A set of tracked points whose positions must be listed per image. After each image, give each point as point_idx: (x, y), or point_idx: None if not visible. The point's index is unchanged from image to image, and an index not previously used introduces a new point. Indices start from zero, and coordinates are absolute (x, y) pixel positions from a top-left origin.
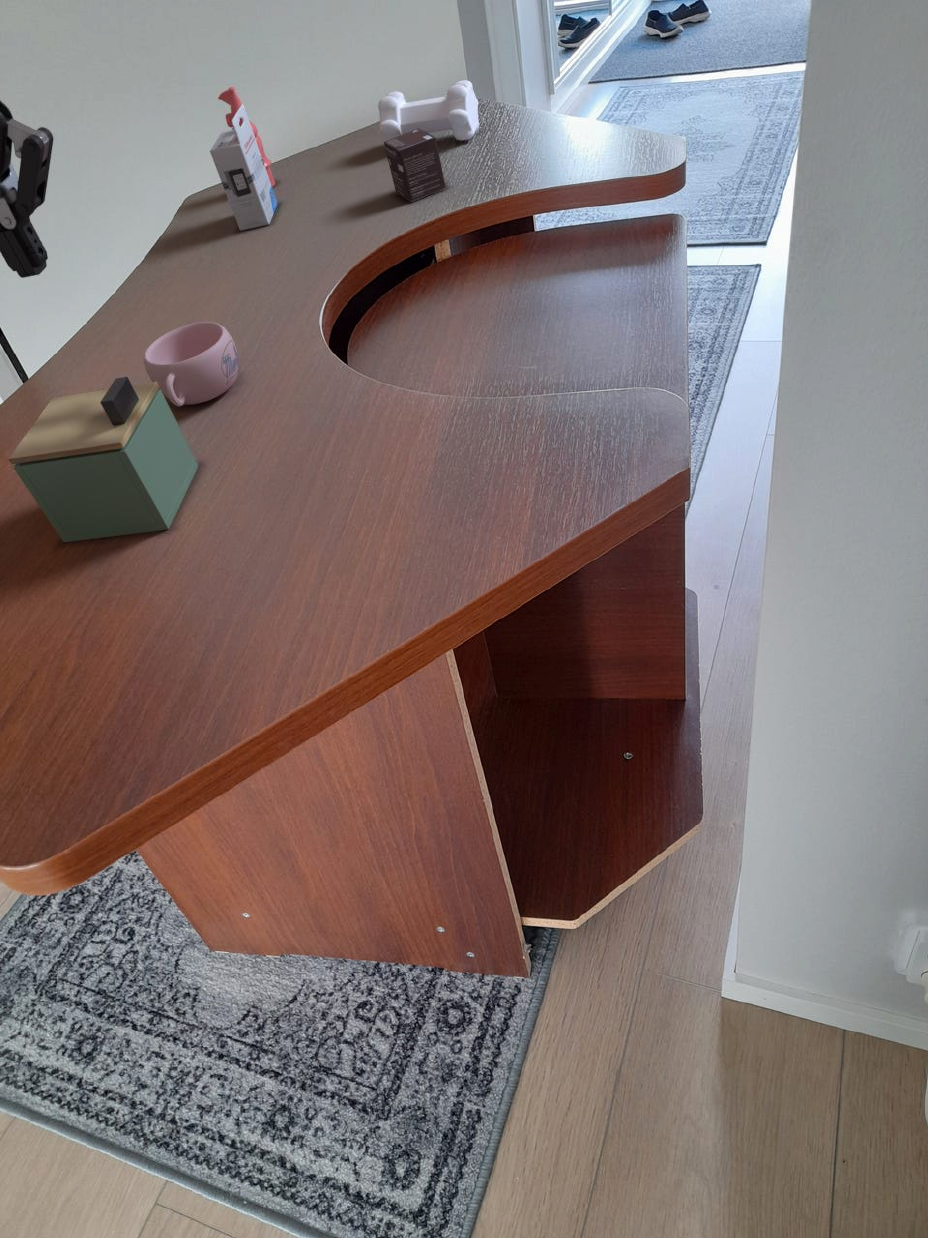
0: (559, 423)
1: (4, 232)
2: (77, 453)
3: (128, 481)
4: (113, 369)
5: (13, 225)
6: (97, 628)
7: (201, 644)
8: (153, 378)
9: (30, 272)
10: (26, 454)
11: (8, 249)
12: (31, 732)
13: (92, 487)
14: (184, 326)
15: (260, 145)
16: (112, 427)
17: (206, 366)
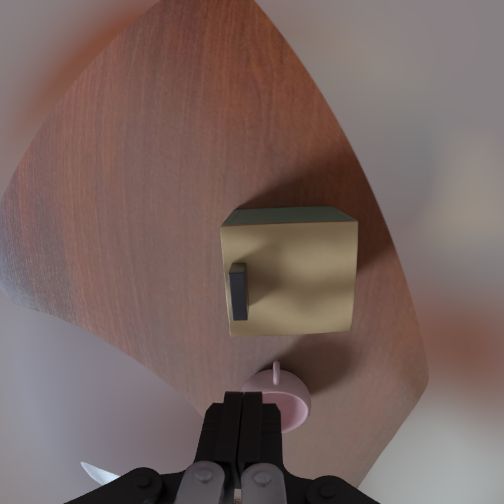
0: (26, 283)
1: (232, 459)
2: (275, 222)
3: (240, 217)
4: (362, 413)
5: (196, 464)
6: (249, 98)
7: (159, 86)
8: (298, 385)
9: (233, 393)
10: (338, 225)
11: (250, 431)
12: (255, 20)
13: (280, 215)
14: (283, 432)
15: None
16: (245, 258)
17: (247, 389)
